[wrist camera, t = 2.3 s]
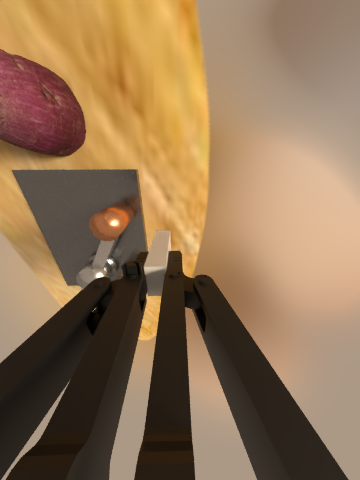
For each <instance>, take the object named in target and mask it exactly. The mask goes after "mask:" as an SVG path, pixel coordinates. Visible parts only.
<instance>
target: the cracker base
mask: <svg viewBox="0 0 360 480" xmlns="http://www.w3.org/2000/svg"><path fill="white" fill-rule="evenodd" d="M12 172H13V174H14V176H15V178H16V180H17V182H18V184H19V186H20V188H21V190H22V192H23V194H24V196H25V198H26V200H27V202H28V204H29V207H30V209H31V211H32V213H33V215H34V217H35V219H36V221H37V223H38V225H39V227H40V229H41V231H42V233H43V235H44V237H45V239H46V242H47V244H48V246H49V248H50V250H51V252H52V254H53V256H54V258H55V260H56V262H57V264H58V266H59V268H60V270H61V272H62V274H63V277H64V279H65V281H66V283H67V285H68V286H70V285H78V283H77V281H76V276H77V274H78V273H79V272H80V271H81V270H82V269H83V268H84V267H85V266H86V265H87V264H88V263H89V262H90V261H91V260H93V259H95V256H96V253H97V250H98V248H99V245H100V242H101V240H100V239H98V238H97V237H95V236H94V235H93V234H92V232H91V230H90V228H89V221H90V218H91V217H92V216H93V215H95V214H97V213H98V212H100V211H102V210H104V209H106V208H107V207H109V206H111V205H113V204H114V203H116V202H124V203H126V204H128V205H129V206H130V207H131V208H132V210H133V212H134V217H133V220H132V221H131V222H130V223H129V225H128V226H127V227H126V228H125V229H124V230H123V232H122V233H121V234H120V235H119V237H118V239H117V242H116V244H115V246H114V249H113V251H112V254H111V256H110V258H109V261H108V263H109V264H110V265H111V266H112V269H113V272H112V275H111V276H110V279H111V281H114V280H118V279H121V278H123V271H122V267H121V266H122V265H123V264H124V263H125V262H128V261H132V260H135V259H136V257H137V255H138V254H139V253H140V252H148V247H147V239H146V231H145V223H144V215H143V207H142V199H141V191H140V183H139V175H138V170H12Z"/></svg>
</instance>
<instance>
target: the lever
mask: <svg viewBox="0 0 360 480" xmlns="http://www.w3.org/2000/svg"><path fill="white" fill-rule="evenodd" d="M133 217H134V212H133V210H132V208H131V207H130V206H129V205H128V204H126V203H124V202H116V203H114V204H113V205H111V206H109V207H107V208H106V209H104V210H102V211H100V212H98V213H97V214H95V215H93V216H92V217H91V218H90V221H89V228H90V230H91V232H92V234H93V235H94V236H95V237H97V238H98V239H100V240H101V242H100V245H99V248H98V250H97V253H96V256H95V259H93V260H91V261H90V262H89V263H88V264H87V265H86V266H85V267H84V268H83V269H82V270H81V271H80V272H79V273H78V274H77V276H76V281H77V283H78V285H79V286H80V287H82V289H81V290H83V289H84V288H85V287H86V286H87V285H88V284H89V283H90V282H92V281H93V280H94V279H97V278H99V277H109V278H110V276H111V275H112V272H113V269H112V266H111V265H110V264H109V263H108V261H109V258H110V256H111V254H112V251H113V249H114V246H115V244H116V242H117V239H118V237H119V235H120V234H121V233H122V232H123V230H124V229H125V228H126V227H127V226H128V225H129V223H130V222H131V221H132V220H133Z"/></svg>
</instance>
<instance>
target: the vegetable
mask: <svg viewBox="0 0 360 480" xmlns="http://www.w3.org/2000/svg"><path fill="white" fill-rule="evenodd" d="M85 133H86V130H85V121H84V115H83V112H82V109H81V107H80V105H79V103H78V101H77V99H76V98H75V96H74V94H73V92H72V91H71V89H70V88H69V86H68V85H67V84H66V82H65V81H64V80H63V79H62V78H60V77H59V76H58V75H56V74H55V73H54V72H52V71H51V70H49V69H47V68H45V67H43V66H41V65H40V64H38V63H35V62H33V61H31V60H28V59H26V58H24V57H21V56H18V55H12V54H9V53H7V52H5V51H3V50H1V49H0V139H2V140H4V141H6V142H8V143H10V144H13V145H15V146H18V147H22V148H25V149H28V150H32V151H35V152H40V153H44V154H50V155H57V156H58V155H59V156H68V155H71V154H72V153H74V152H75V151H77V150H78V149H79V148H80V147H81V146H82V145H83V143H84V140H85Z"/></svg>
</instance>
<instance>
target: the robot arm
mask: <svg viewBox="0 0 360 480" xmlns="http://www.w3.org/2000/svg"><path fill="white" fill-rule="evenodd" d="M121 267H122V271H123V278H121V279H118V280H114V281H111V279H110V278H109V277H99V278H97V279H94V280H93V281H92V282H90V283H89V284H88V285H87V286H86V287H85V288H84V289H83V290H81V291H80V292H79V293H78V294H77V295H76V296H75V297H74V298H73V299H71V300H70V301H69V302H68V303H67V304H66V305H65V306H64V307H63V308H61V309H60V310H59V311H58V312H57V313H56V314H55V315H54V316H53V317H51V318H50V319H49V320H48V321H47V322H46V323H45V324H44V325H43V326H41V328H39V329H38V330H37V331H36V332H35V333H34V334H33V335H32V336H30V337H29V338H28V339H27V340H26V341H25V342H24V343H22V344H21V345H20V346H19V347H18V348H17V349H16V350H15V351H14V352H12V353H11V354H10V355H9V356H8V357H7V358H6V359H5V360H3V361H2V362H1V363H0V480H1V479H2V477H3V476H4V475H5V473H6V472H7V470H8V469H9V467H10V466H11V464H12V463H13V462H14V460H15V458H16V457H17V456H18V454H19V453H20V451H21V450H22V449H23V447H24V446H25V444H26V443H27V441H28V440H29V438H30V437H31V435H32V434H33V433H34V431H35V430H36V428H37V427H38V425H39V424H40V423H41V421H42V420H43V418H44V417H45V415H46V414H47V413H48V411H49V409H50V408H51V407H52V405H53V404H54V402H55V401H56V400H57V398H58V397H59V395H60V393H61V392H62V391H63V389H64V388H65V387H66V385H67V384H68V382H69V381H70V382H69V384H68V386H67V388H66V390H65V392H64V394H63V396H62V398H61V400H60V402H59V404H58V406H57V407H56V409H55V411H54V414H53V415H52V417H51V419H50V422H49V423H48V425H47V427H46V429H45V431H44V433H43V435H42V436H41V438H40V440H39V441H38V442H37V443H36V445H35V446H34V447H33V448H31V449H30V450H29V451H28V452H27V453H26V454H25V455H23V457H21V459H20V460H19V461H18V462H17V464H16V465H15V466H14V468H13V469H12V470H11V472H10V473H9V475H8V477H7V478H6V480H109V469H110V459H111V454H112V449H113V445H114V440H115V436H116V432H117V428H118V423H119V419H120V415H121V410H122V406H123V402H124V397H125V393H126V389H127V384H128V380H129V376H130V371H131V366H132V363H133V358H134V354H135V350H136V345H137V341H138V337H139V332H140V328H141V324H142V319H143V315H144V311H145V306H146V302H147V299H146V294H147V293H148V296H162V297H161V305H160V313H159V321H158V329H157V336H156V344H155V352H154V360H153V368H152V376H151V384H150V391H149V400H148V407H147V416H146V422H145V430H144V436H143V441H142V445H141V448H140V451H139V456H138V461H137V466H136V472H135V478H134V480H195V470H194V455H193V444H192V432H191V415H190V395H189V376H188V359H187V358H188V357H187V339H186V319H185V307H187V308H191V309H192V310H193V313H194V316H195V318H196V321H197V323H198V326H199V329H200V331H201V334H202V336H203V339H204V342H205V344H206V347H207V350H208V352H209V355H210V357H211V360H212V362H213V365H214V368H215V370H216V373H217V376H218V378H219V381H220V383H221V386H222V389H223V391H224V394H225V397H226V399H227V402H228V404H229V407H230V410H231V412H232V415H233V418H234V420H235V423H236V425H237V428H238V430H239V433H240V436H241V438H242V441H243V444H244V446H245V449H246V451H247V454H248V457H249V459H250V462H251V464H252V467H253V470H254V472H255V475H256V477H257V480H348V478H347V477H346V475H345V474H344V473H343V471H342V470H341V468H340V467H339V465H338V464H337V462H336V461H335V459H334V458H333V456H332V455H331V453H330V452H329V450H328V449H327V448H326V446H325V444H324V443H323V442H322V440H321V439H320V437H319V436H318V434H317V433H316V431H315V430H314V428H313V427H312V425H311V424H310V422H309V421H308V419H307V418H306V417H305V415H304V413H303V412H302V411H301V409H300V408H299V406H298V405H297V403H296V402H295V400H294V399H293V398H292V396H291V394H290V393H289V391H288V390H287V388H286V387H285V386H284V384H283V383H282V381H281V380H280V378H279V377H278V375H277V374H276V372H275V371H274V369H273V368H272V366H271V365H270V363H269V362H268V360H267V359H266V357H265V356H264V354H263V353H262V352H261V350H260V349H259V347H258V346H257V345H256V343H255V341H254V340H253V338H252V337H251V335H250V334H249V332H248V331H247V330H246V328H245V327H244V325H243V324H242V322H241V321H240V319H239V318H238V316H237V315H236V313H235V312H234V310H233V309H232V307H231V306H230V304H229V303H228V301H227V300H226V298H225V297H224V295H223V294H222V293H221V291H220V290H219V288H218V287H217V286H216V284H215V282H214V281H213V279H212V278H211V277H209V276H207V275H198V276H196V277H195V278H190V277H187V276H186V275H184V273H183V269H182V254H181V252H180V251H171V241H170V230H156V233H155V236H154V239H153V242H152V245H151V247H150V250H149V252H140V253H139V254H138V255H137V257H136V259H135V260H132V261H128V262H125V263H124V264H123V265H122V266H121ZM95 308H96V309H95ZM94 309H95V310H94ZM93 310H94V311H93ZM92 311H93V312H92ZM70 379H71V380H70Z"/></svg>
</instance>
